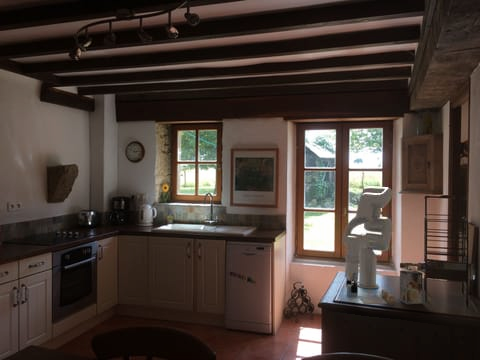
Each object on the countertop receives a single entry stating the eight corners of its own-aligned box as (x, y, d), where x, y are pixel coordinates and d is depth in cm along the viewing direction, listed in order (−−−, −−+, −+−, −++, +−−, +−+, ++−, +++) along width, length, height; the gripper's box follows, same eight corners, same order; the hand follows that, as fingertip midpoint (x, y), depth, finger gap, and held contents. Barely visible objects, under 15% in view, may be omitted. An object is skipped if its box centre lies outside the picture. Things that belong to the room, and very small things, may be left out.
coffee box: (414, 299, 201) (415, 269, 200) (422, 303, 194) (423, 272, 194) (399, 300, 199) (399, 270, 199) (406, 304, 193) (407, 273, 192)
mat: (357, 296, 204) (357, 295, 204) (380, 297, 204) (380, 296, 204) (363, 303, 193) (363, 302, 193) (387, 303, 193) (387, 303, 193)
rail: (381, 296, 205) (381, 289, 204) (385, 296, 204) (385, 289, 204) (389, 304, 193) (389, 296, 192) (393, 304, 192) (393, 296, 192)
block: (346, 294, 207) (346, 284, 207) (355, 295, 207) (355, 284, 207) (348, 297, 203) (348, 286, 203) (357, 297, 203) (357, 286, 203)
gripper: (341, 255, 213) (340, 285, 213) (349, 261, 196) (348, 294, 196) (355, 256, 213) (353, 286, 213) (364, 262, 196) (363, 295, 195)
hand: (351, 290), depth 204 cm, fingers open, 9 cm apart
